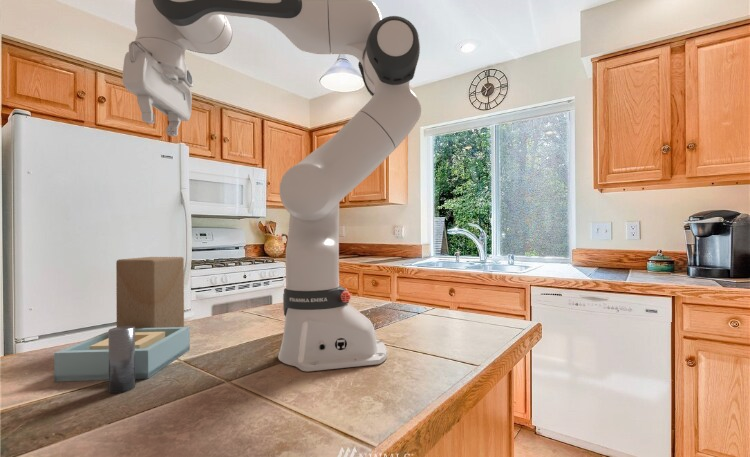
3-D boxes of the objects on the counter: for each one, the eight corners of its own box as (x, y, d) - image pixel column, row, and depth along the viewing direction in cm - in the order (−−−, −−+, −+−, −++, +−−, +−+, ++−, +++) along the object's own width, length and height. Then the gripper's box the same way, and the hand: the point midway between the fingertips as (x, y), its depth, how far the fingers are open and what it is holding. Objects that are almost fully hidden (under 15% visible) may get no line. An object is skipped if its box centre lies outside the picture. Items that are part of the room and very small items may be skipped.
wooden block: (152, 349, 81) (152, 259, 81) (115, 347, 83) (115, 259, 83) (185, 336, 90) (184, 256, 91) (150, 334, 92) (150, 256, 93)
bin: (189, 349, 80) (189, 326, 80) (148, 378, 64) (148, 350, 64) (115, 351, 79) (114, 328, 79) (54, 381, 63) (54, 353, 63)
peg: (139, 383, 62) (139, 325, 62) (126, 393, 58) (126, 331, 58) (118, 384, 62) (117, 326, 62) (103, 394, 58) (103, 331, 58)
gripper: (149, 35, 64) (149, 113, 64) (196, 83, 85) (197, 142, 84) (111, 34, 64) (112, 112, 64) (168, 82, 84) (169, 141, 84)
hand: (161, 129), depth 74 cm, fingers open, 8 cm apart
